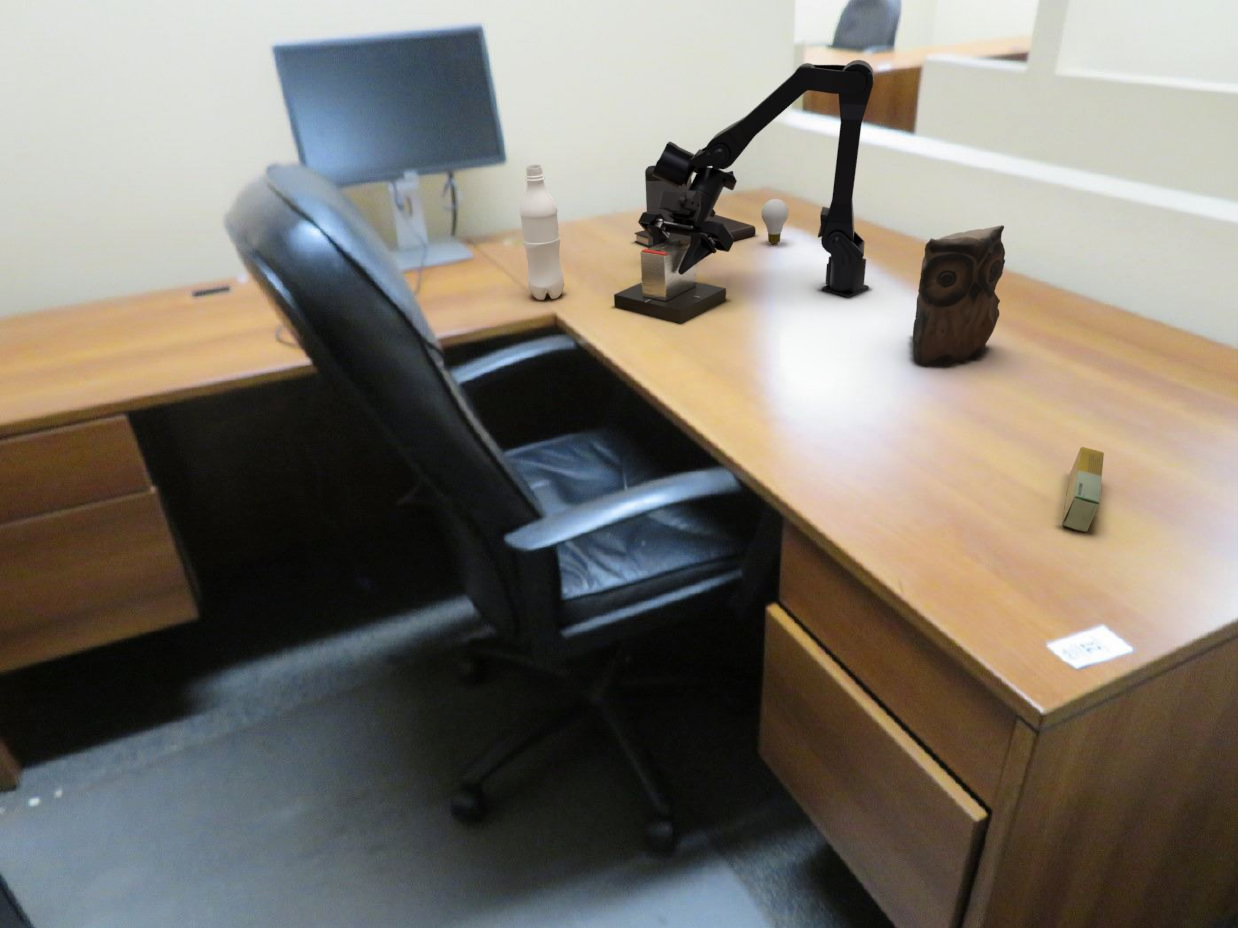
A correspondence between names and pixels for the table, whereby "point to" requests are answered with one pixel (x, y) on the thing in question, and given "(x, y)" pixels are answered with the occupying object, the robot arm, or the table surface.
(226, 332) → the table surface
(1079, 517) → the medication box
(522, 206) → the water bottle
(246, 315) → the table surface
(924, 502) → the table surface
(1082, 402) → the table surface
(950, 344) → the owl
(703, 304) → the dial plate
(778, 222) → the light bulb
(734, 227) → the hardcover book
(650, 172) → the electronic device
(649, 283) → the brushed aluminum block
